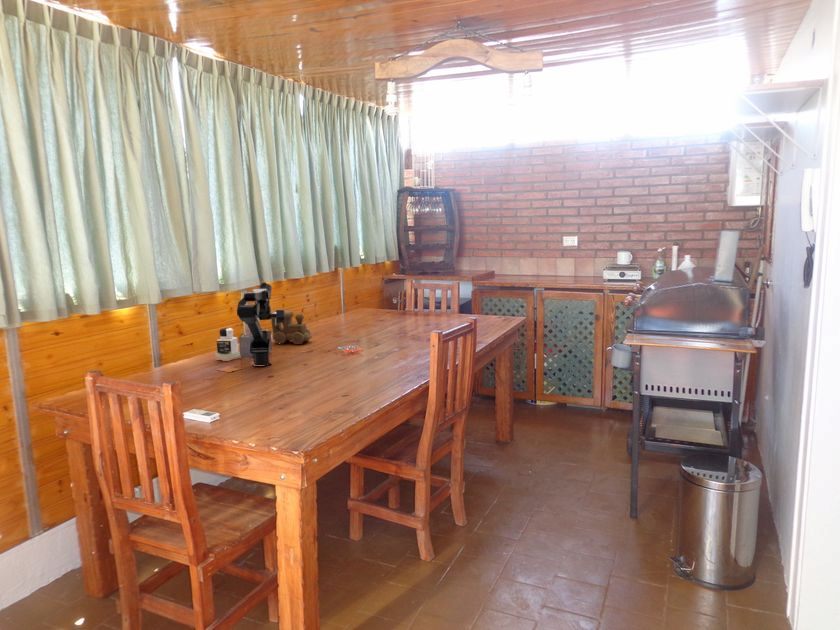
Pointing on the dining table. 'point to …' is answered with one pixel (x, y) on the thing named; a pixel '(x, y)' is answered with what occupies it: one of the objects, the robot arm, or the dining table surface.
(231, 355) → the base block
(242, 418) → the dining table surface
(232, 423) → the dining table surface
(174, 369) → the dining table surface
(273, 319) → the wooden toy train
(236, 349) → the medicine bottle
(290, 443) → the dining table surface
